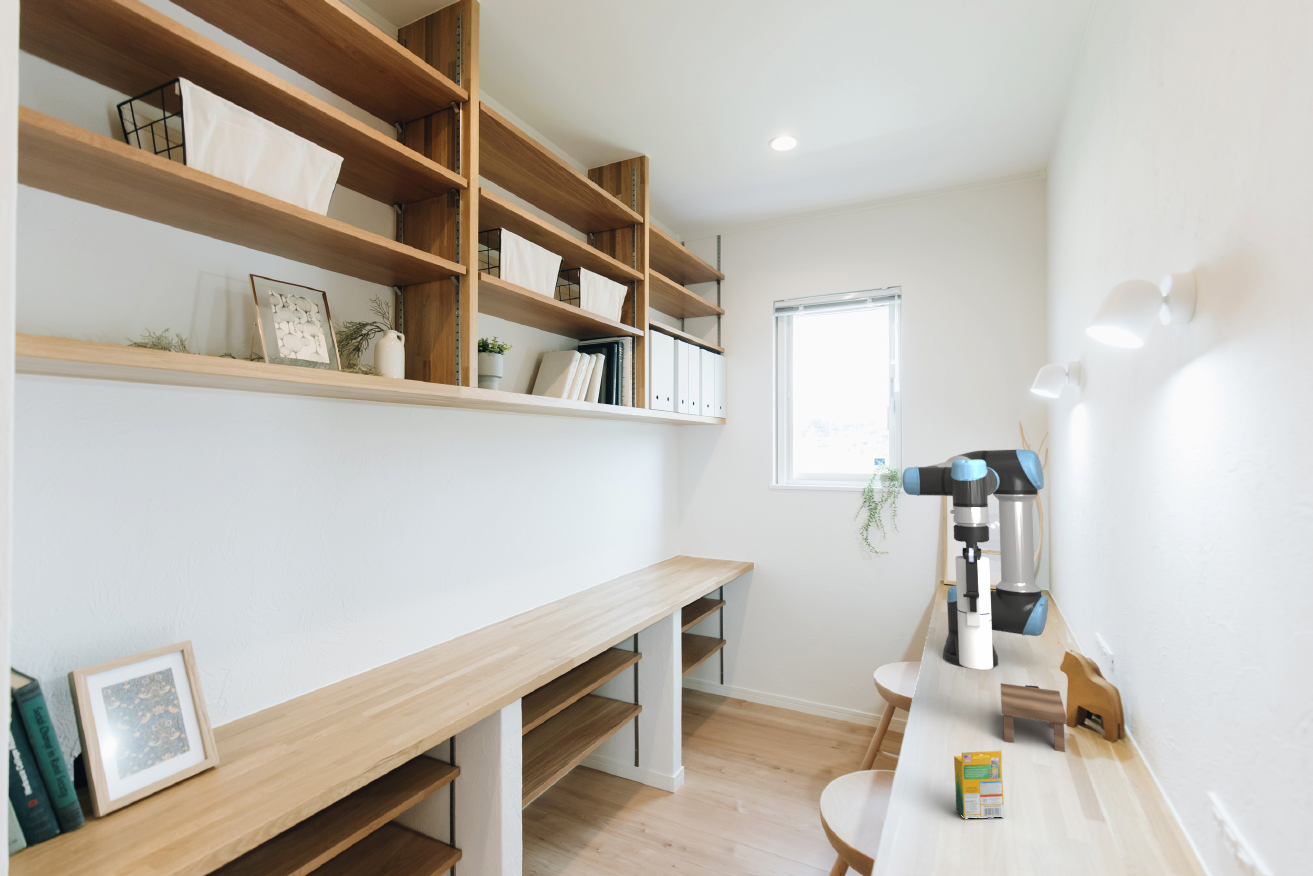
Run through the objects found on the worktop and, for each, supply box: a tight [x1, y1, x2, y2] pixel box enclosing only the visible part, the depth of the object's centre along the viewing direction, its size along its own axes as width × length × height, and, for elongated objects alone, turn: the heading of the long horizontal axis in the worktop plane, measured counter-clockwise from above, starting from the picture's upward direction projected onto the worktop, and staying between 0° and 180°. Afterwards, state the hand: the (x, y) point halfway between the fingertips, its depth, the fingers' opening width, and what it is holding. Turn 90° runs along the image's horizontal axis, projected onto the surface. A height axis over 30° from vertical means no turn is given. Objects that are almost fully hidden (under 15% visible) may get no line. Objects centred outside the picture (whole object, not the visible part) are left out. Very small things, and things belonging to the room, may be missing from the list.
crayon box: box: [953, 750, 1005, 818], centre depth 111 cm, size 7×3×12 cm, turn 92°
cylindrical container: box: [955, 555, 994, 670], centre depth 148 cm, size 7×7×25 cm
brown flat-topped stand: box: [1000, 682, 1067, 753], centre depth 142 cm, size 15×12×8 cm
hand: (974, 621), depth 148 cm, fingers closed on cylindrical container, 7 cm apart
